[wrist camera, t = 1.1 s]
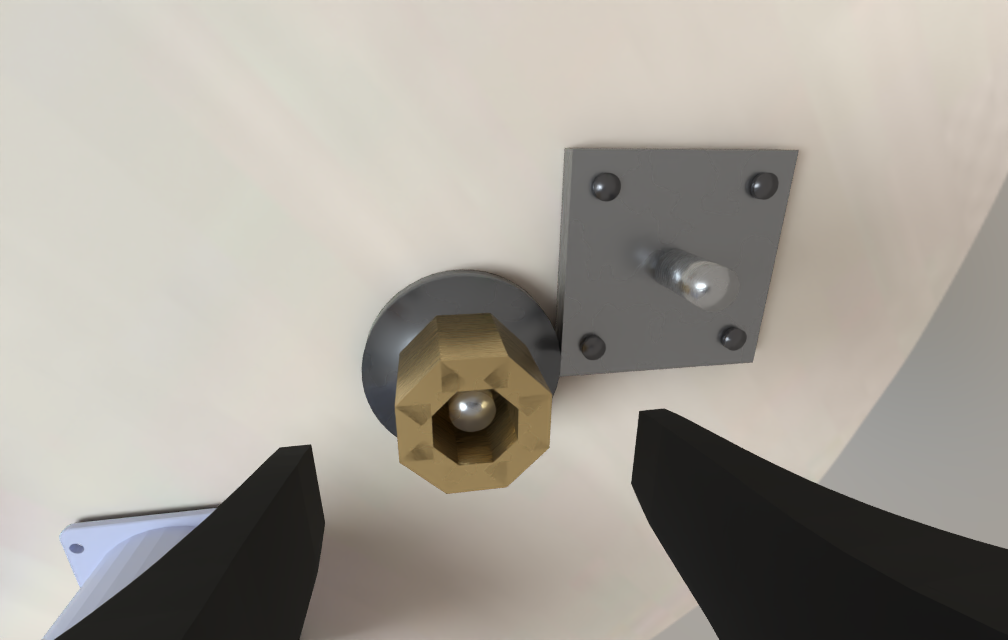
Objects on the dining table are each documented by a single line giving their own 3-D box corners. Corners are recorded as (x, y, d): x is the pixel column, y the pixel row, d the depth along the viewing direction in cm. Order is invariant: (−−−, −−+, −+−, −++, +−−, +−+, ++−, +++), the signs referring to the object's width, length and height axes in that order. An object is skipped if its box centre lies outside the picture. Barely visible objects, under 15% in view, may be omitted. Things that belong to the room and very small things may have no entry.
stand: (550, 433, 22) (576, 492, 18) (373, 450, 21) (363, 517, 17) (558, 266, 19) (592, 295, 15) (354, 273, 18) (337, 307, 14)
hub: (738, 353, 22) (802, 395, 18) (553, 365, 21) (583, 414, 17) (780, 149, 19) (867, 151, 15) (564, 148, 17) (603, 150, 14)
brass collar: (524, 420, 20) (547, 482, 16) (405, 431, 19) (402, 498, 16) (527, 310, 18) (554, 353, 15) (397, 317, 18) (390, 364, 14)
